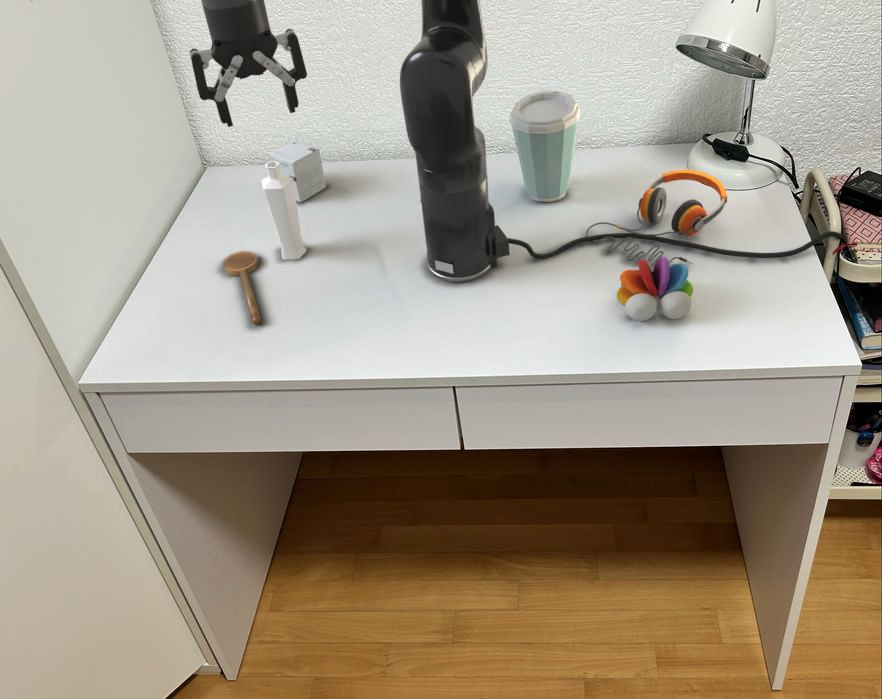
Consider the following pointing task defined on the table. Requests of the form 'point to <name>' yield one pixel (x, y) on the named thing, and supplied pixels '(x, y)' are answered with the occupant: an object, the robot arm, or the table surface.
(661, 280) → the rainbow petal fan toy
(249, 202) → the table surface
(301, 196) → the product carton
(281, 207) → the perfume bottle
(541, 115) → the disposable coffee cup
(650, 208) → the headphones
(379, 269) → the table surface
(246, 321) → the table surface
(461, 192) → the robot arm
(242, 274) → the wooden spoon
